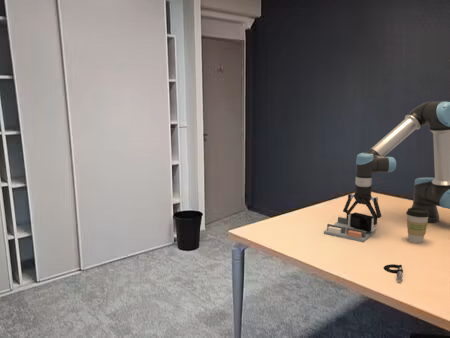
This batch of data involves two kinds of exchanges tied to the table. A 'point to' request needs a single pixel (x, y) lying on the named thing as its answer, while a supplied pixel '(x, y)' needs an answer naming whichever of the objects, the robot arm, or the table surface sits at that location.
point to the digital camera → (361, 221)
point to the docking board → (347, 231)
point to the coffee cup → (417, 224)
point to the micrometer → (395, 271)
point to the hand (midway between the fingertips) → (361, 228)
